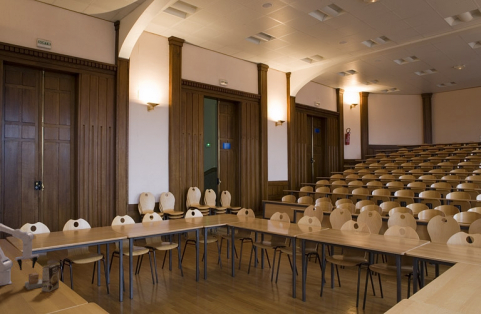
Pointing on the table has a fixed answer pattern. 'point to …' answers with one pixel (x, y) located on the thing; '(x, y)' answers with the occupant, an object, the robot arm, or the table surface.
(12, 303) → the table surface
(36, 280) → the walnut block
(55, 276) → the coffee box
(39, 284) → the grey box
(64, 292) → the table surface
